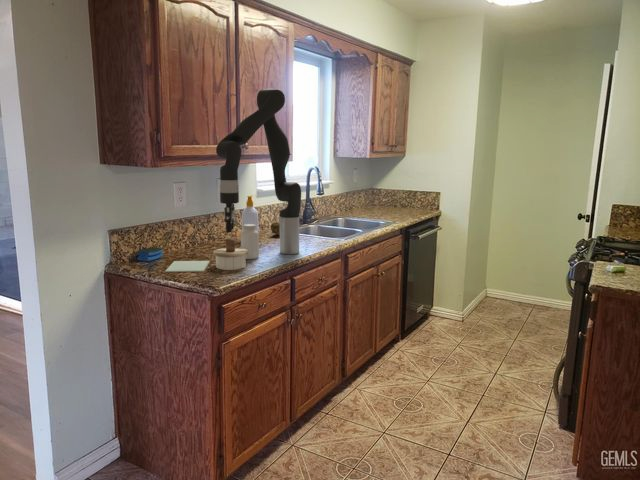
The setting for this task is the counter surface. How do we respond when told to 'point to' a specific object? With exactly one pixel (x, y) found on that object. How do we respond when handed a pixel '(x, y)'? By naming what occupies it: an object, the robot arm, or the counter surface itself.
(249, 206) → the soap bottle
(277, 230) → the potato
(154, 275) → the counter surface
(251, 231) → the pill bottle
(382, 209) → the counter surface
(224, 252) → the lid
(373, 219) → the counter surface
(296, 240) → the robot arm
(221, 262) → the bowl
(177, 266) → the mat
